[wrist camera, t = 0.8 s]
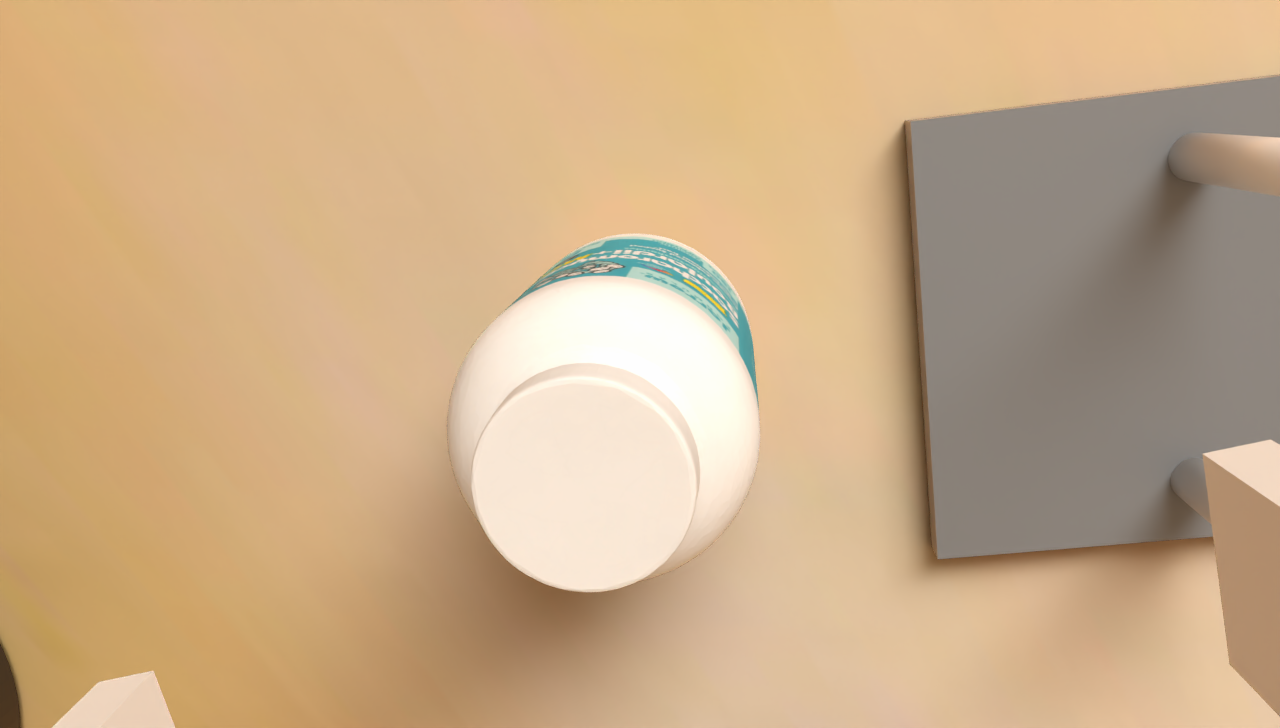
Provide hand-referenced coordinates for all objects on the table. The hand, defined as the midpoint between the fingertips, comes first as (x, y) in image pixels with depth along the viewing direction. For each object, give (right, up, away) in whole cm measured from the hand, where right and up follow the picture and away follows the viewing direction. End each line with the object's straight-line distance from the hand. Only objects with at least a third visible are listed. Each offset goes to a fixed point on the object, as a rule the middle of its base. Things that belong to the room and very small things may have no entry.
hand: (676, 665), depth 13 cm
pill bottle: (-1, +4, +22) cm, 22 cm away
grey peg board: (+16, +5, +20) cm, 26 cm away
